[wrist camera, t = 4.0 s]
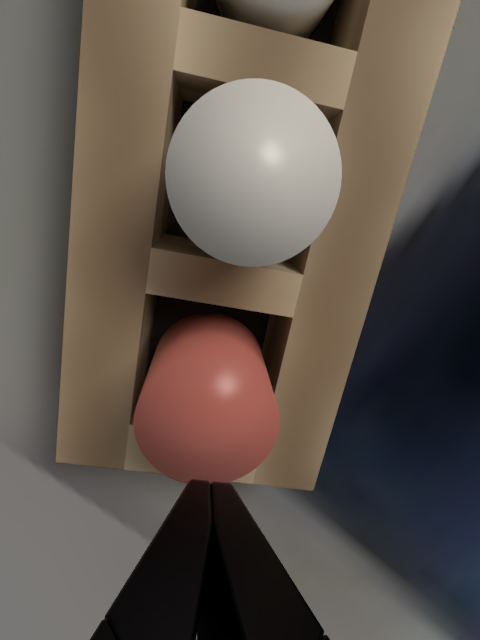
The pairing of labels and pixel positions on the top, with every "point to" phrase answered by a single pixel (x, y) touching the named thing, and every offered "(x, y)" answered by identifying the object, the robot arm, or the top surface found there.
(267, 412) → the red plug
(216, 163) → the plug
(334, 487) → the top surface
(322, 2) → the plug
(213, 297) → the beech block
